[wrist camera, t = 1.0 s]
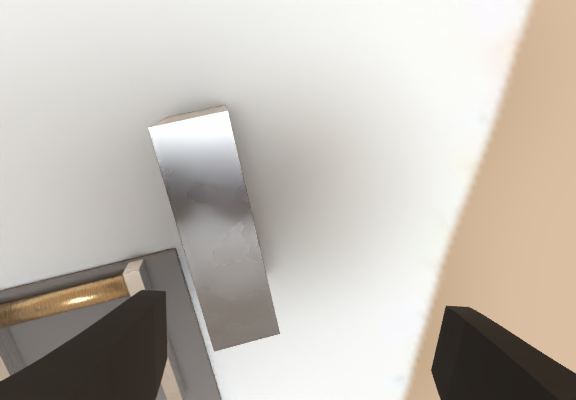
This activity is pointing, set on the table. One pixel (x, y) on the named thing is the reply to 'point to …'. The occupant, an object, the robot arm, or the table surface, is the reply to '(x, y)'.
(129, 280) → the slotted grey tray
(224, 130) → the dark gray rectangular chunk
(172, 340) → the grey slide base plate
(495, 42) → the table surface
